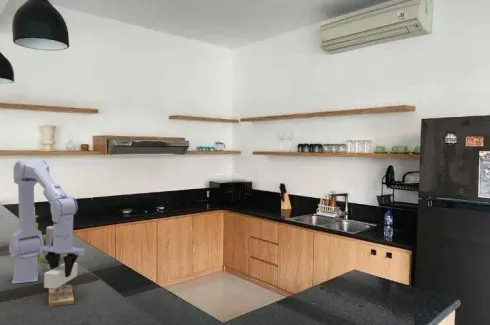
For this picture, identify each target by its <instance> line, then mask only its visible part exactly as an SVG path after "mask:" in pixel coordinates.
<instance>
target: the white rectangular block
mask: <svg viewBox="0 0 490 325" xmlns="http://www.w3.org/2000/svg"><path fill="white" fill-rule="evenodd" d="M77 276H78V262H75V263H74V265H73V268H72V271H71V275H70V276H68V277H65V263H64V262H63V263H62V264H59V266H58V267H56V268H54V269H52V270H51V269H50V270H48V271H46V272H44V276H43V277H44V278H43V288H46V289H49V288H55V289H56V288H58V287H60V286H63V284H64V283H66V282H67V283H68V282H69V281H72V280H73V279H74V278H76V277H77Z"/></svg>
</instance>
